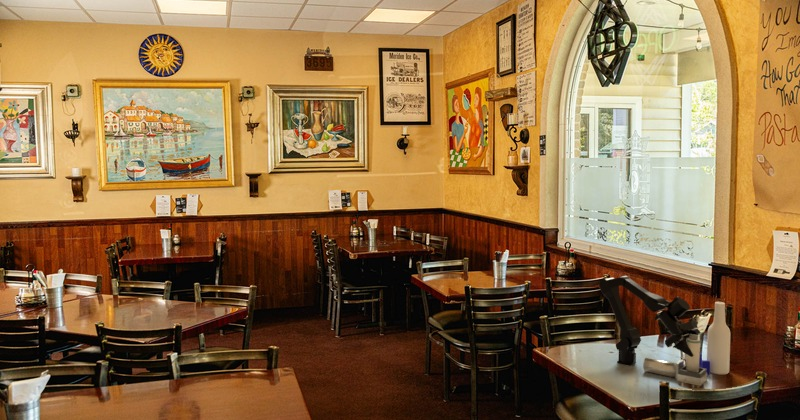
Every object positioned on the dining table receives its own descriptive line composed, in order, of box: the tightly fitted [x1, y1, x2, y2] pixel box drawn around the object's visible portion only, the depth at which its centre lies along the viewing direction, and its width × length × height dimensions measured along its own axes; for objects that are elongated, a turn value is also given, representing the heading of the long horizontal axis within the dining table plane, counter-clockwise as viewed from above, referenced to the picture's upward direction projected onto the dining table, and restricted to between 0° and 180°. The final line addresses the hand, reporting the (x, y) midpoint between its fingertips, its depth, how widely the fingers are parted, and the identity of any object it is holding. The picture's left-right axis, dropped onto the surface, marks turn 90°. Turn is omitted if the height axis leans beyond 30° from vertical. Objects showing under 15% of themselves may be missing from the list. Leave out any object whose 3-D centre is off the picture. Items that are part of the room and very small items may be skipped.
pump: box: [685, 334, 701, 372], centre depth 271 cm, size 5×5×15 cm
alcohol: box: [706, 301, 731, 376], centre depth 282 cm, size 9×9×30 cm
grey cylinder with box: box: [642, 357, 708, 387], centre depth 277 cm, size 24×9×7 cm, turn 50°
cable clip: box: [699, 352, 711, 376], centre depth 285 cm, size 12×4×6 cm, turn 173°
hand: (696, 355), depth 270 cm, fingers closed on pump, 5 cm apart
